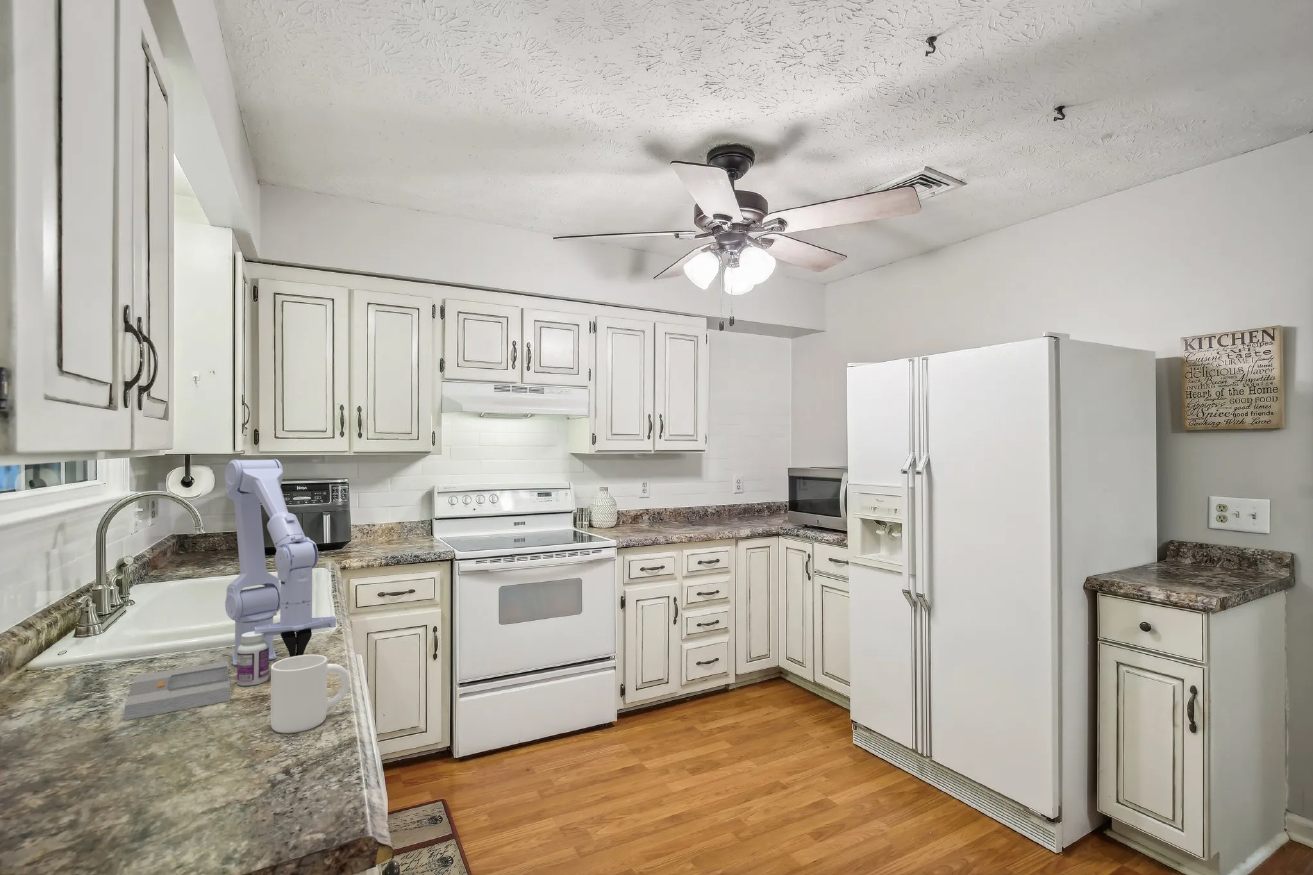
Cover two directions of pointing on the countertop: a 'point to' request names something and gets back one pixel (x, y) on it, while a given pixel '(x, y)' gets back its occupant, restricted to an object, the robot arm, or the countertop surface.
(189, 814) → the countertop surface
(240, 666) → the pill bottle
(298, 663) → the mug
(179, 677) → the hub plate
